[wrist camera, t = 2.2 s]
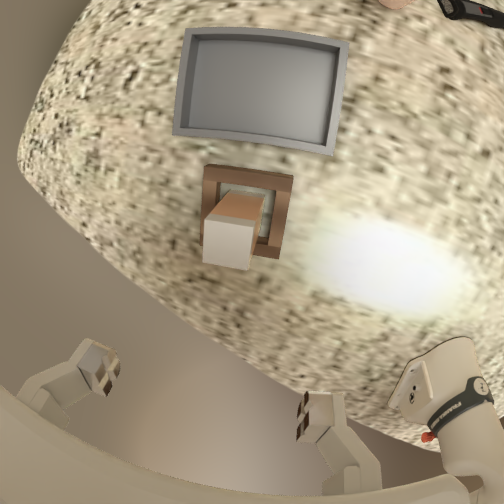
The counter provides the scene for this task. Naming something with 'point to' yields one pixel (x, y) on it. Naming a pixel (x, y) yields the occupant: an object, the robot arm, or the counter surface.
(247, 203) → the block
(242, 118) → the tray
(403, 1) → the smoothie
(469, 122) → the counter surface
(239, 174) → the frame
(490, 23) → the electric trimmer
